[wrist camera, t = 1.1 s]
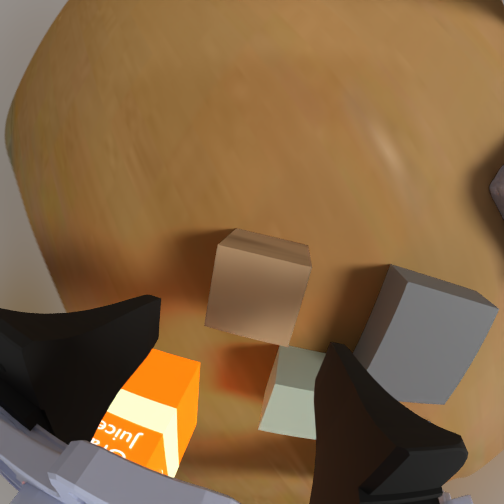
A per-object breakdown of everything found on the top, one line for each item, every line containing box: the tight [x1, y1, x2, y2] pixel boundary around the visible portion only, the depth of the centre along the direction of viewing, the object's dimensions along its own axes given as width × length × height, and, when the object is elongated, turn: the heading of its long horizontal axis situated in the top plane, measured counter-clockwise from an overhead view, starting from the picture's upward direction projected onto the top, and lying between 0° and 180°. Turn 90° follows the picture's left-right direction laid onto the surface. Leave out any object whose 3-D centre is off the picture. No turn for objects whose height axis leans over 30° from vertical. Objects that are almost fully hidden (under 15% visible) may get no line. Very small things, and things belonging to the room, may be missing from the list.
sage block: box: [258, 345, 326, 439], centre depth 20 cm, size 5×5×5 cm
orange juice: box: [91, 349, 200, 478], centre depth 15 cm, size 8×9×20 cm
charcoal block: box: [353, 264, 499, 404], centre depth 18 cm, size 9×9×4 cm
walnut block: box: [204, 228, 312, 347], centre depth 18 cm, size 5×5×5 cm
